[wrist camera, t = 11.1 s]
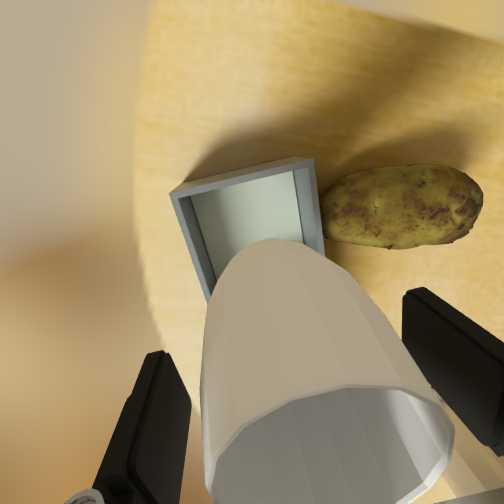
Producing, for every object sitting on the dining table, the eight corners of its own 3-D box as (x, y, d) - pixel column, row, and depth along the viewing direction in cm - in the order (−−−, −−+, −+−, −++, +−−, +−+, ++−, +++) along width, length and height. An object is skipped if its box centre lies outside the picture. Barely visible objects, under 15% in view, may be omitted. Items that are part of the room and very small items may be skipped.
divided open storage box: (319, 333, 33) (338, 370, 27) (236, 353, 33) (239, 394, 27) (293, 155, 24) (313, 158, 19) (181, 182, 24) (168, 193, 19)
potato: (322, 143, 24) (365, 142, 17) (439, 169, 26) (522, 177, 19) (300, 227, 27) (328, 256, 20) (406, 243, 29) (468, 276, 22)
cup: (255, 273, 27) (317, 569, 8) (202, 230, 25) (116, 500, 6) (304, 225, 26) (526, 451, 7) (252, 174, 23) (363, 293, 4)
